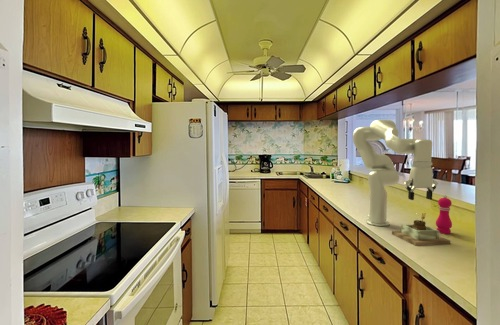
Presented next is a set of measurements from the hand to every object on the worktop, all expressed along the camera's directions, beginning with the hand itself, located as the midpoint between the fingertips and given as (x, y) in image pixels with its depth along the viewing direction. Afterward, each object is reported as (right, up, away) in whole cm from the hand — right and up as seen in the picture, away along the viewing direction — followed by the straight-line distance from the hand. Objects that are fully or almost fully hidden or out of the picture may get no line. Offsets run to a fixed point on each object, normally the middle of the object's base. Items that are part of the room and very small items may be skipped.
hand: (420, 199), depth 147 cm
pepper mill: (+19, -19, +11) cm, 29 cm away
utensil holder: (0, -18, +1) cm, 18 cm away
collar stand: (0, -20, +1) cm, 20 cm away
